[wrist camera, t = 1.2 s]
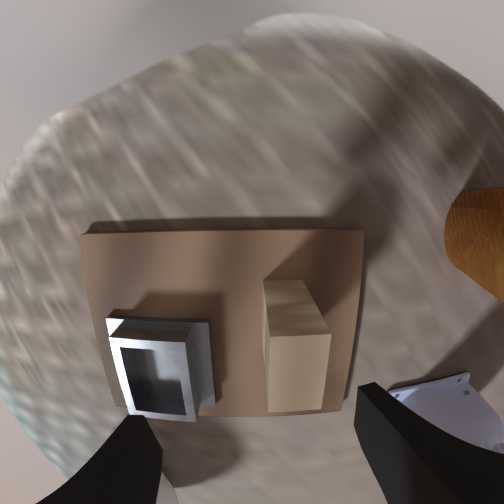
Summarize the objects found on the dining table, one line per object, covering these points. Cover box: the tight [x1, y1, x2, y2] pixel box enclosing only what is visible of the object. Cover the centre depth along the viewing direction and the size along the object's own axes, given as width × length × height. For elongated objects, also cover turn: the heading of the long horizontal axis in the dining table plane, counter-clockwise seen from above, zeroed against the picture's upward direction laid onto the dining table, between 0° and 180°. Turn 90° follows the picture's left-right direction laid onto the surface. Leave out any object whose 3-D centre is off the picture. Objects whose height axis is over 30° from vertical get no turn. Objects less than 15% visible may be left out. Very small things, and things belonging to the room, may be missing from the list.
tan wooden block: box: [262, 280, 331, 412], centre depth 15 cm, size 2×4×7 cm, turn 0°
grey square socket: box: [106, 315, 217, 422], centre depth 18 cm, size 7×7×3 cm
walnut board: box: [80, 228, 365, 417], centre depth 19 cm, size 18×14×1 cm
